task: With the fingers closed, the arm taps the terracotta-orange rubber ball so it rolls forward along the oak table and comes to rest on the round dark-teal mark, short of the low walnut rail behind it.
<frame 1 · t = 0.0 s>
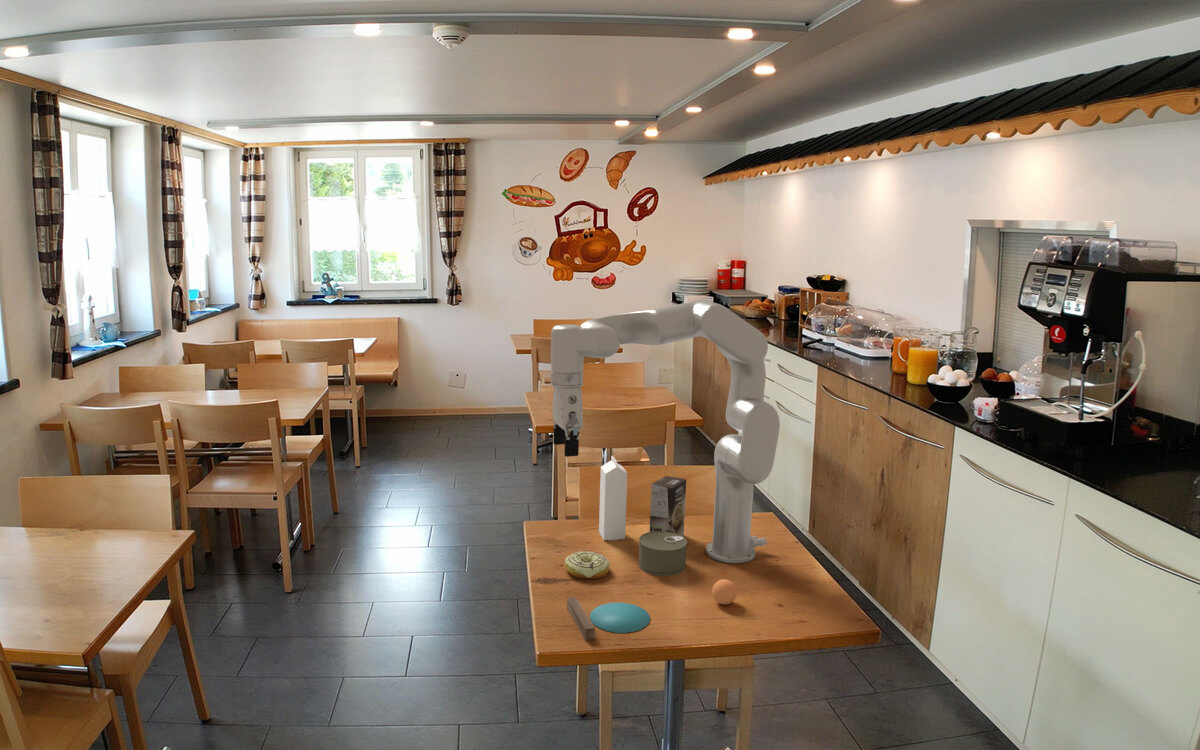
hand: (565, 449, 189), 31 cm above the table, tool pointing down, fingers open, 9 cm apart
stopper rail: (580, 623, 172), on the table
coffee box: (666, 538, 219), on the table
can: (662, 566, 201), on the table
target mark: (619, 617, 175), on the table
decorated donut: (586, 572, 197), on the table
milk: (611, 536, 219), on the table
ball: (724, 591, 182), on the table
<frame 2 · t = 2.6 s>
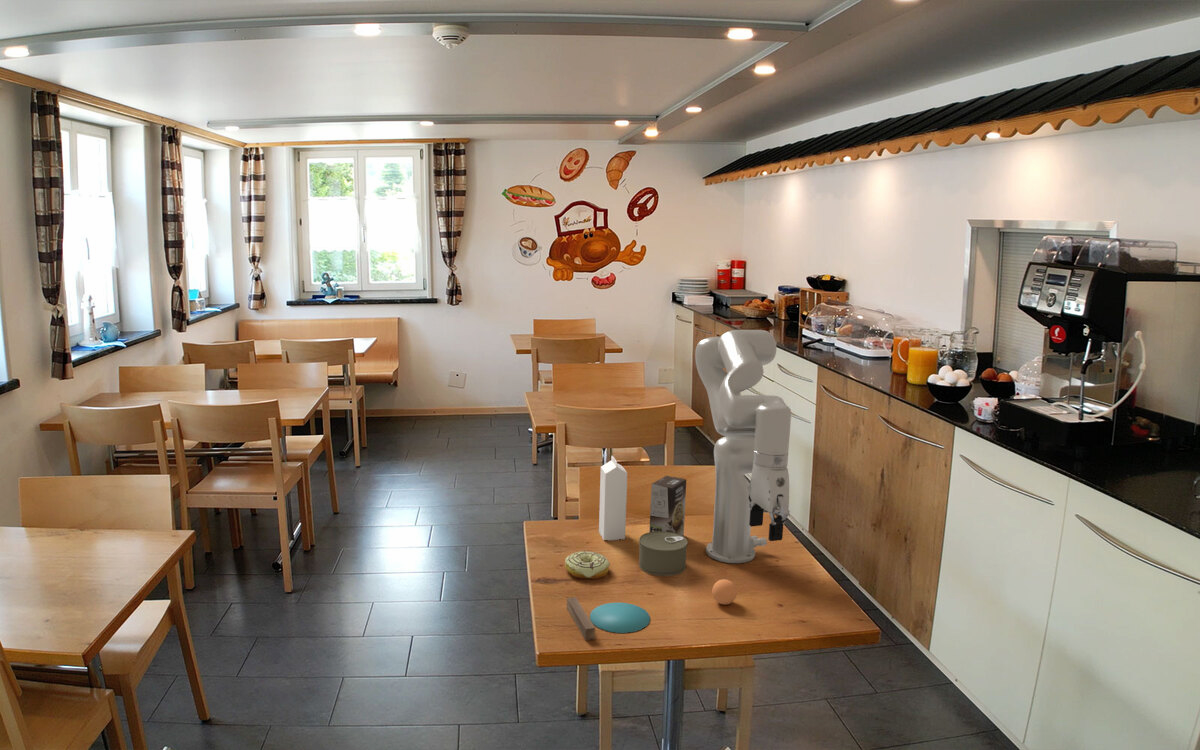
hand: (765, 532, 183), 16 cm above the table, tool pointing down, fingers open, 8 cm apart
nothing on the table moved.
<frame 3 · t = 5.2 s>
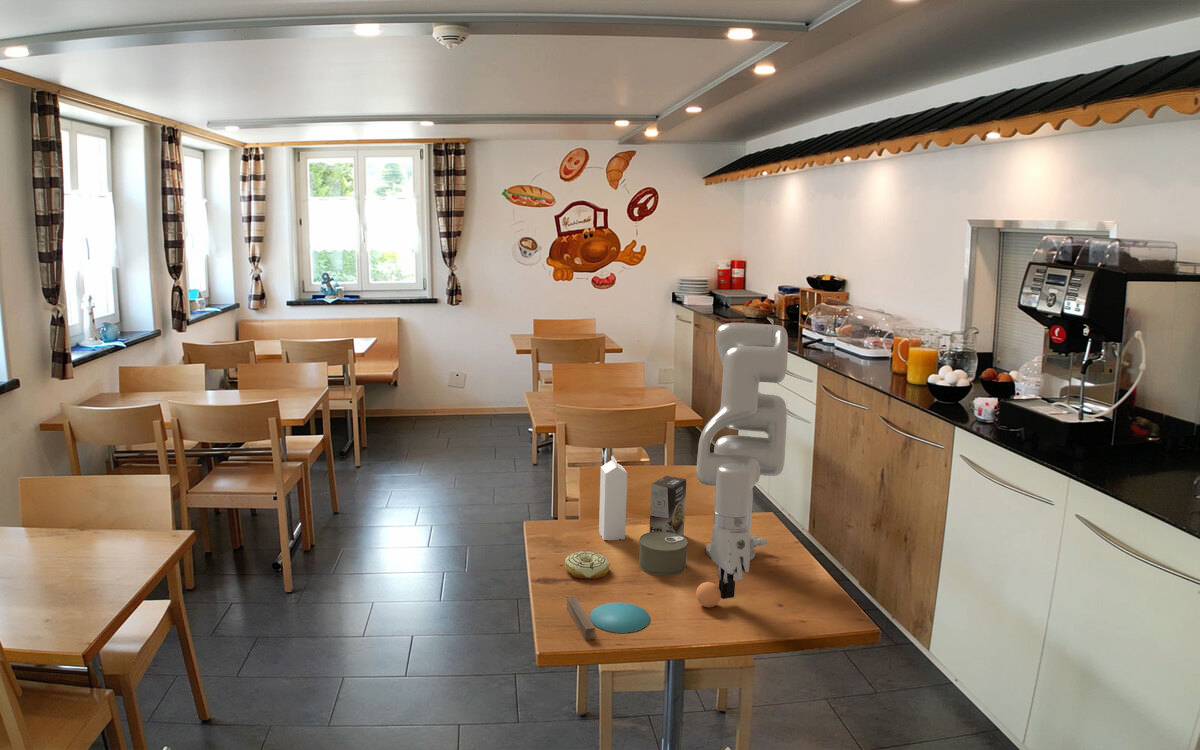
hand: (726, 596, 182), 2 cm above the table, tool pointing down, fingers closed
ball: (708, 594, 181), on the table
everything else where it was.
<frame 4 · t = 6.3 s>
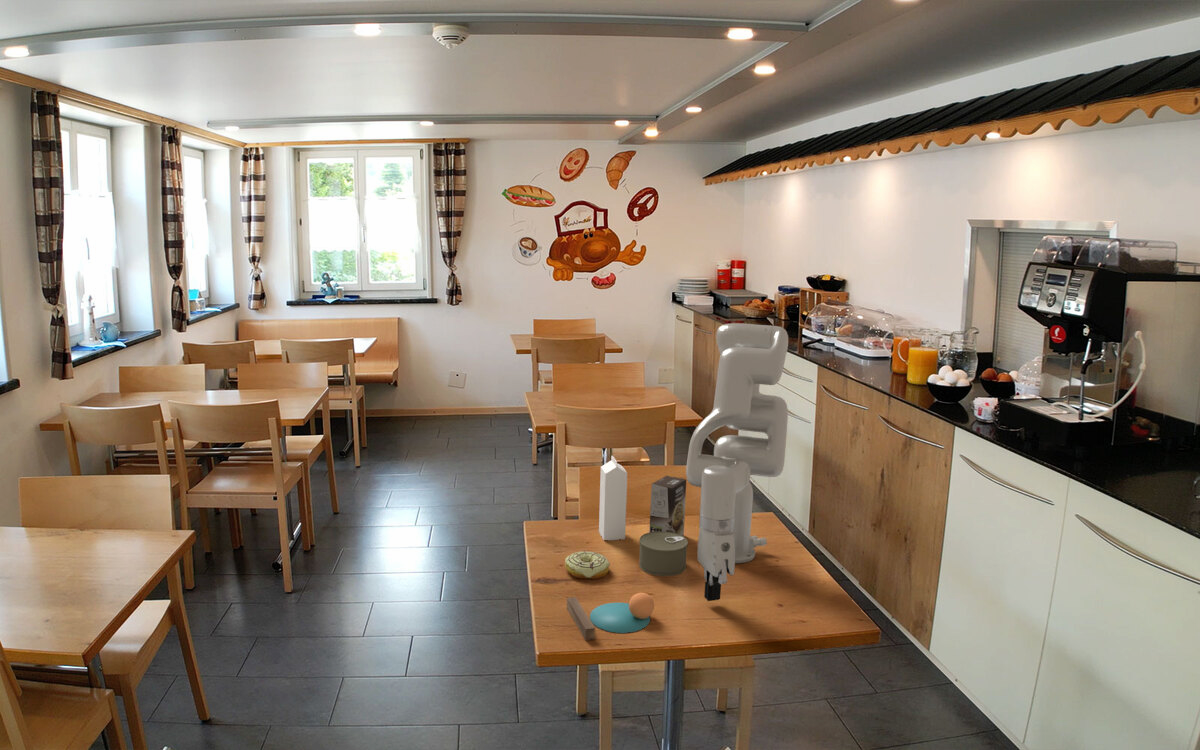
hand: (712, 598, 182), 2 cm above the table, tool pointing down, fingers closed
ball: (641, 605, 175), on the table
everything else where it was.
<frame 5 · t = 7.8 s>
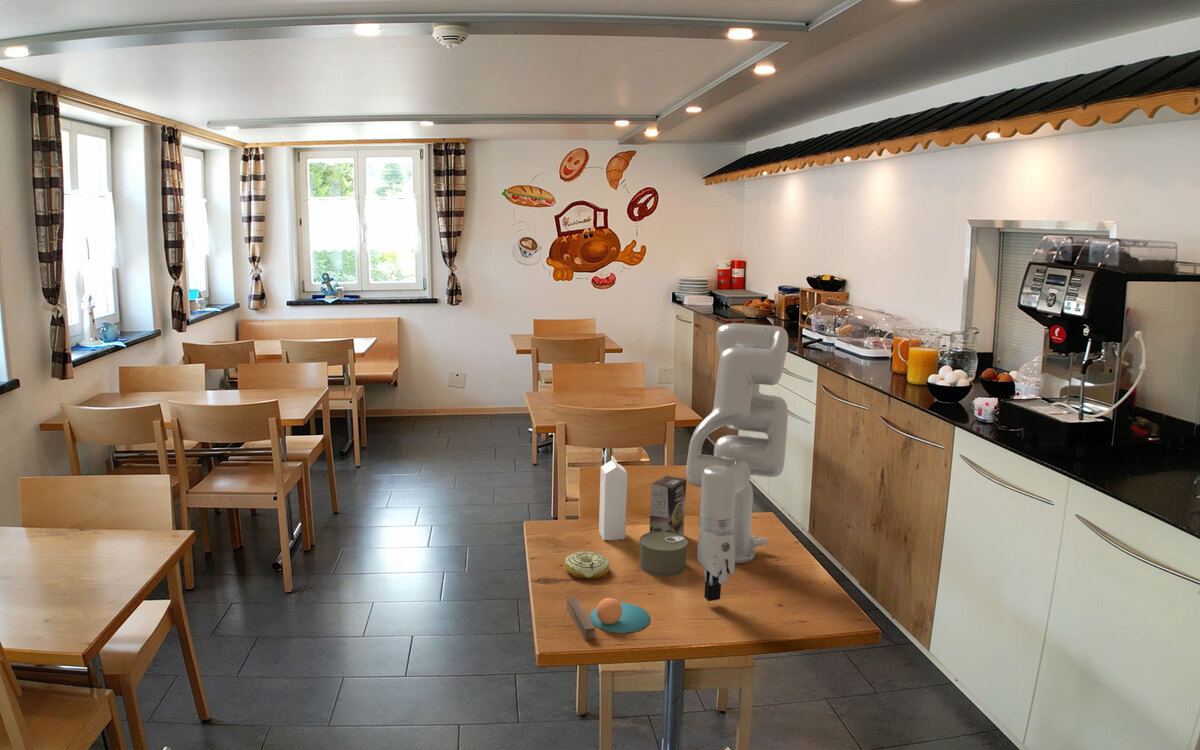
hand: (712, 598, 182), 2 cm above the table, tool pointing down, fingers closed
ball: (609, 611, 172), on the table
everything else where it was.
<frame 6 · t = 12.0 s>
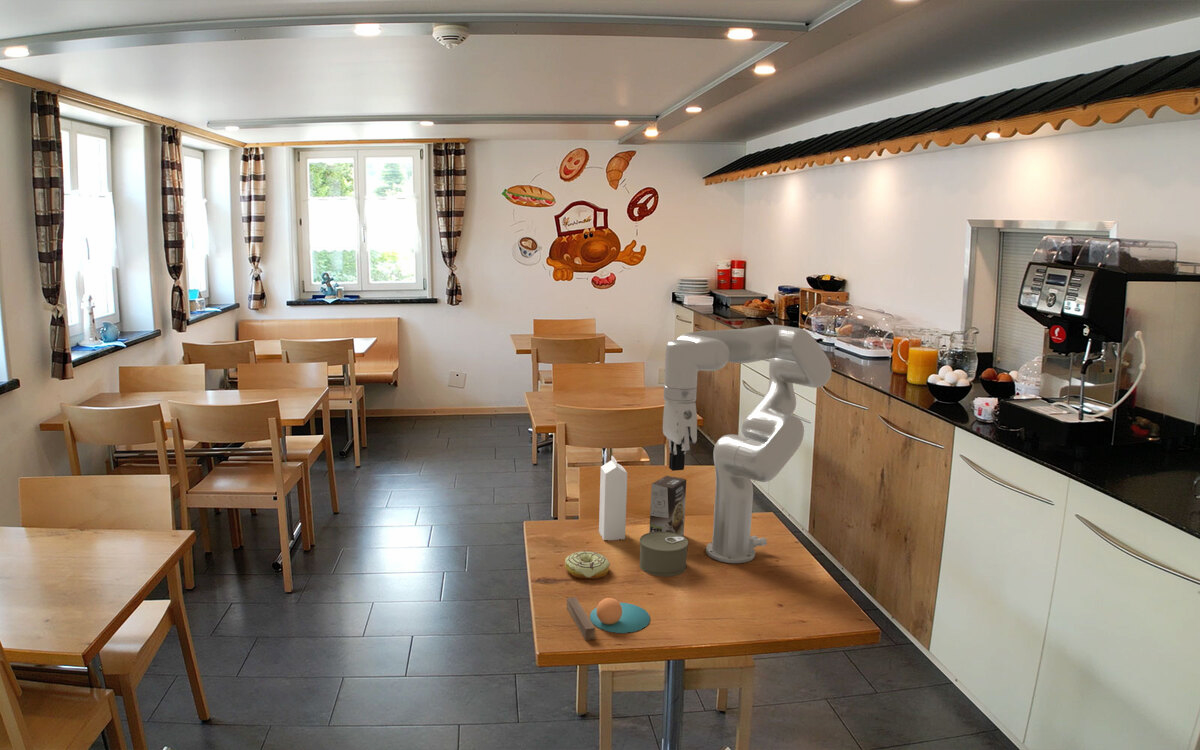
hand: (676, 469, 190), 27 cm above the table, tool pointing down, fingers closed
nothing on the table moved.
at the end: ball 3.4 cm from the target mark (horizontally); ball at rest at the end (0.0 cm/s); ball moved 28.1 cm from its start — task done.
